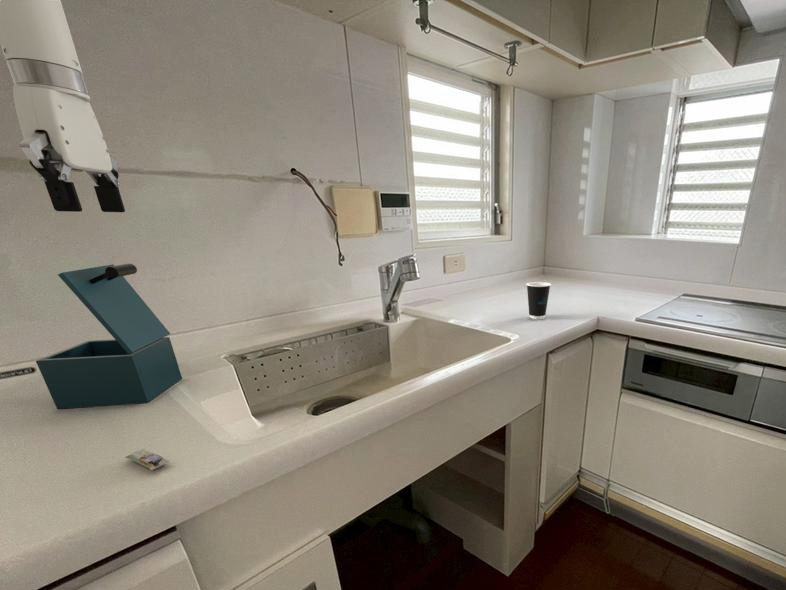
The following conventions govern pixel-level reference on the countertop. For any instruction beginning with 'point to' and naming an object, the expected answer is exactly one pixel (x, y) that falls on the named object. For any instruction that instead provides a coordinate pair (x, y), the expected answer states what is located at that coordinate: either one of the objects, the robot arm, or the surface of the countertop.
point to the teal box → (109, 373)
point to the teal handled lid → (116, 304)
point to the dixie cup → (537, 299)
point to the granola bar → (147, 459)
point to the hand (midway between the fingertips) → (93, 211)
